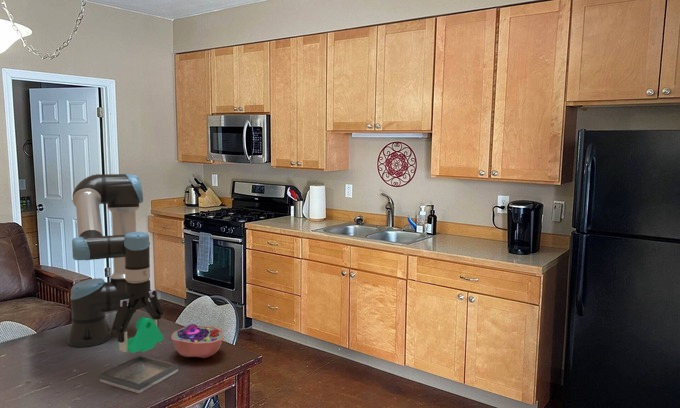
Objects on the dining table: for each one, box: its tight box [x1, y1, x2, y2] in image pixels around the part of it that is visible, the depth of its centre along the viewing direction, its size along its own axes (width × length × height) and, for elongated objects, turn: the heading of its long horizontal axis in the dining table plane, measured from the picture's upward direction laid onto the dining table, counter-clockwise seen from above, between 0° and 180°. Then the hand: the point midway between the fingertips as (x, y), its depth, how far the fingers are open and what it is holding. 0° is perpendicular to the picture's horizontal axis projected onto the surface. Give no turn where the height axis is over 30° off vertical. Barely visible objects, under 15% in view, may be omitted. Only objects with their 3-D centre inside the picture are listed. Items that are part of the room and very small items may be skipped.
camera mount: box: [118, 316, 164, 354], centre depth 162 cm, size 12×8×10 cm, turn 154°
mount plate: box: [99, 354, 179, 395], centre depth 164 cm, size 17×17×2 cm
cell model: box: [170, 323, 224, 359], centre depth 181 cm, size 17×20×11 cm
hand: (139, 344), depth 163 cm, fingers closed on camera mount, 12 cm apart
